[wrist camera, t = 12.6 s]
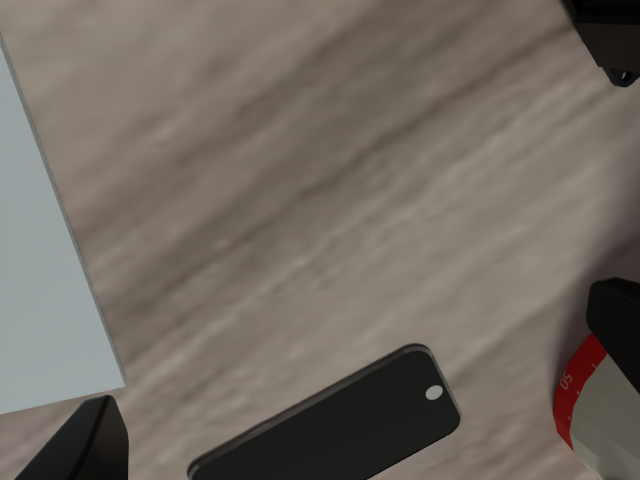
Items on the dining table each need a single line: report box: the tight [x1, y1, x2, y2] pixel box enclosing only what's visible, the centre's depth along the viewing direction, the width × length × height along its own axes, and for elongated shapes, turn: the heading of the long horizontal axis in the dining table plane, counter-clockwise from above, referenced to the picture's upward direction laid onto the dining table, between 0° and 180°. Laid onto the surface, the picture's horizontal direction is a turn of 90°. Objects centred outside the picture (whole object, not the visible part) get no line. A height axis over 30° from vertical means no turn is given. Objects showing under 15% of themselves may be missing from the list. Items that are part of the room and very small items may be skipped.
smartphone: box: [189, 345, 462, 480], centre depth 28 cm, size 8×1×15 cm
